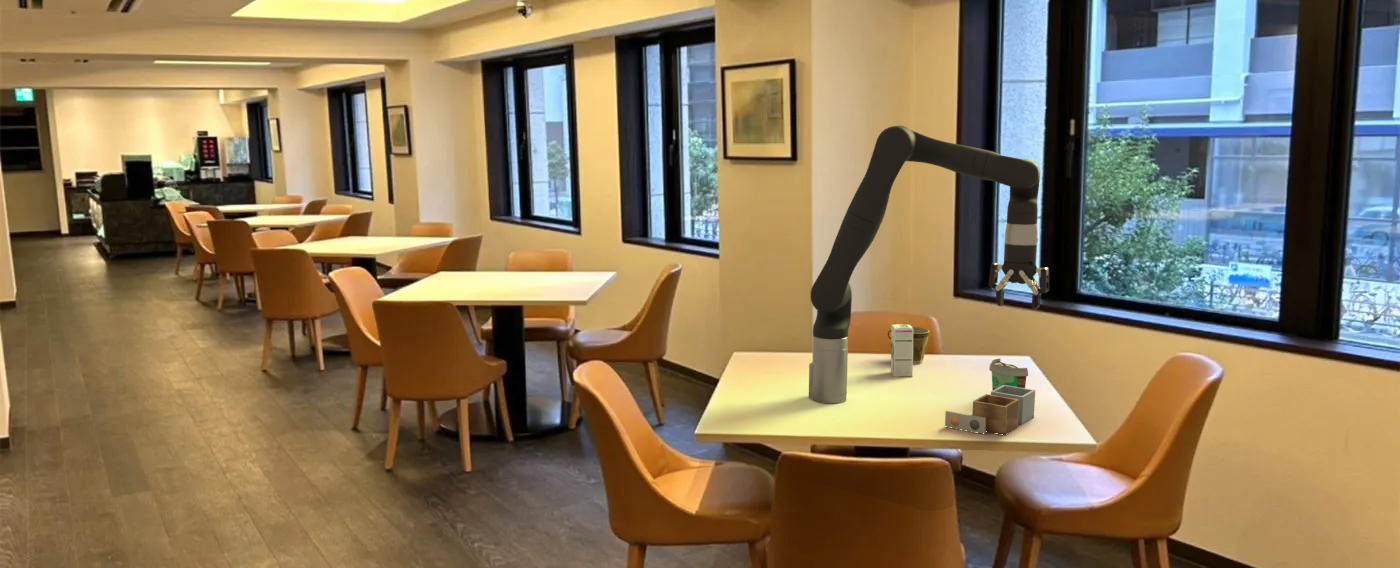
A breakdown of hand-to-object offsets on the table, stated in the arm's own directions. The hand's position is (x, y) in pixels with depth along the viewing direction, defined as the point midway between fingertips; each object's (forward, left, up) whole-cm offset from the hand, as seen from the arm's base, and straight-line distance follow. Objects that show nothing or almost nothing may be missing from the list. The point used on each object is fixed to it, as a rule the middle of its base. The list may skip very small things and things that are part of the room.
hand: (1017, 307), depth 249 cm
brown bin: (0, -11, -28) cm, 30 cm away
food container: (-8, +14, -28) cm, 33 cm away
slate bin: (0, 0, -28) cm, 28 cm away
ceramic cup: (-48, +39, -28) cm, 68 cm away
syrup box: (-42, +23, -28) cm, 56 cm away
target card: (-5, -17, -28) cm, 33 cm away
